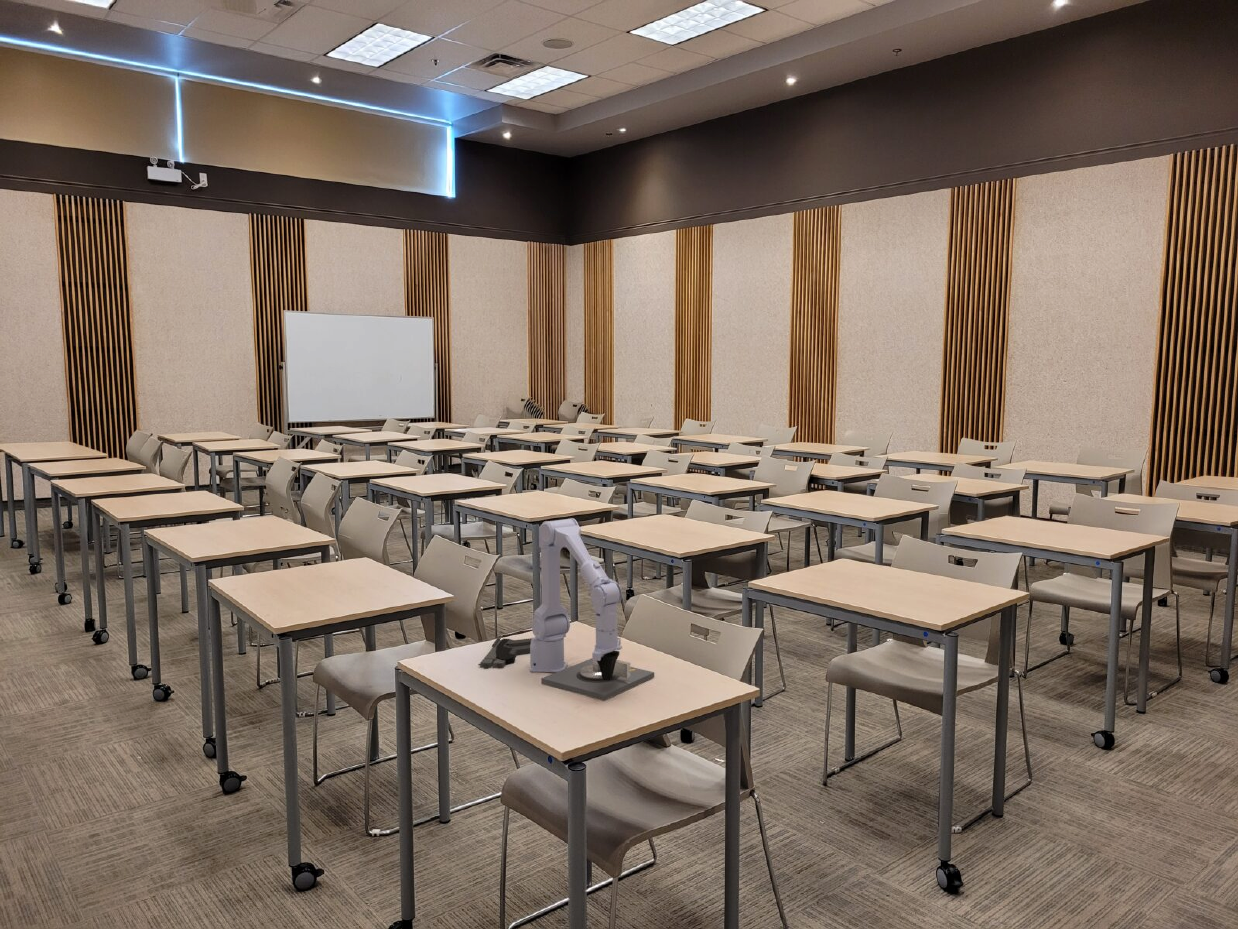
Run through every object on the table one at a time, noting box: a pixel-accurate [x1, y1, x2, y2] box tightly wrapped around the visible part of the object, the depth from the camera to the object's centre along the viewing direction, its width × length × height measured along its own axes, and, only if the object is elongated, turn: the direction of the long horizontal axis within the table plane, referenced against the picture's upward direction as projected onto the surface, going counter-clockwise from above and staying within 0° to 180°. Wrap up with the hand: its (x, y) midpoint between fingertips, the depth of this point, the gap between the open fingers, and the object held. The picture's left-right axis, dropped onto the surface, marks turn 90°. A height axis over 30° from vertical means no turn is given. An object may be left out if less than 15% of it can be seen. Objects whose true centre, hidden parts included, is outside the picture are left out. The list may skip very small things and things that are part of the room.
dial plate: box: [540, 657, 655, 702], centre depth 241 cm, size 22×22×2 cm
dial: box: [580, 659, 631, 680], centre depth 239 cm, size 16×10×5 cm, turn 52°
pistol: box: [478, 637, 533, 670], centre depth 264 cm, size 2×26×15 cm
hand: (607, 679), depth 231 cm, fingers closed
